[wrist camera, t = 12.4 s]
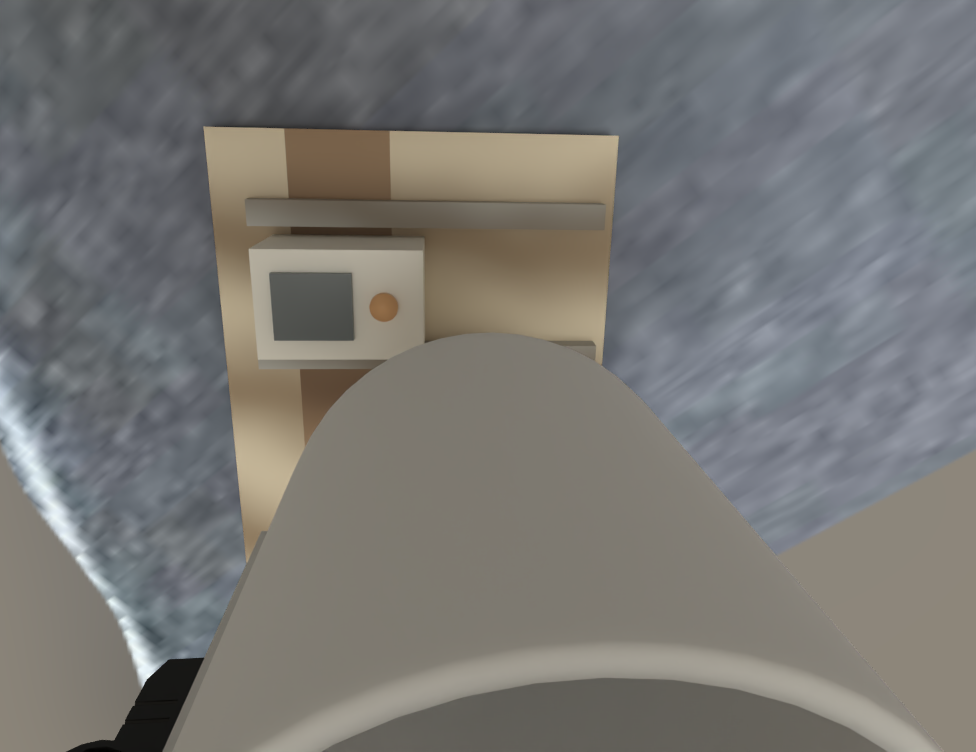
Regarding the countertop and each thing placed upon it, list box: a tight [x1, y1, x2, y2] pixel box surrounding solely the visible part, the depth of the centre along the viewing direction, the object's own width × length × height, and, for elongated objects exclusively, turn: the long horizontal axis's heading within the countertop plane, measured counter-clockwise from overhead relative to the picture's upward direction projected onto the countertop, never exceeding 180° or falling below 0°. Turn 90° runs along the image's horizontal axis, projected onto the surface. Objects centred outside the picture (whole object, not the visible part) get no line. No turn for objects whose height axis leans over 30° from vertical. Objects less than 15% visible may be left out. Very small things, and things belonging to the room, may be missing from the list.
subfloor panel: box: [204, 127, 619, 563], centre depth 31 cm, size 20×16×2 cm
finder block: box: [249, 234, 425, 360], centre depth 27 cm, size 4×6×4 cm, turn 89°
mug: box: [172, 332, 944, 752], centre depth 12 cm, size 9×12×11 cm
